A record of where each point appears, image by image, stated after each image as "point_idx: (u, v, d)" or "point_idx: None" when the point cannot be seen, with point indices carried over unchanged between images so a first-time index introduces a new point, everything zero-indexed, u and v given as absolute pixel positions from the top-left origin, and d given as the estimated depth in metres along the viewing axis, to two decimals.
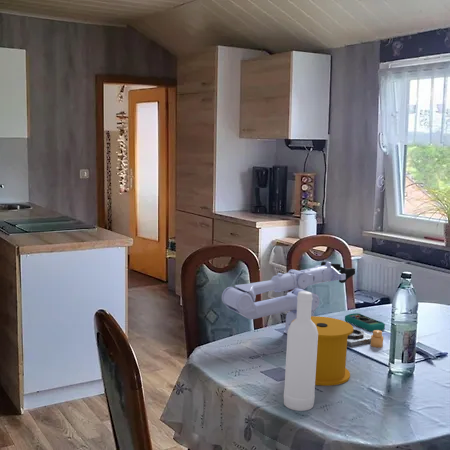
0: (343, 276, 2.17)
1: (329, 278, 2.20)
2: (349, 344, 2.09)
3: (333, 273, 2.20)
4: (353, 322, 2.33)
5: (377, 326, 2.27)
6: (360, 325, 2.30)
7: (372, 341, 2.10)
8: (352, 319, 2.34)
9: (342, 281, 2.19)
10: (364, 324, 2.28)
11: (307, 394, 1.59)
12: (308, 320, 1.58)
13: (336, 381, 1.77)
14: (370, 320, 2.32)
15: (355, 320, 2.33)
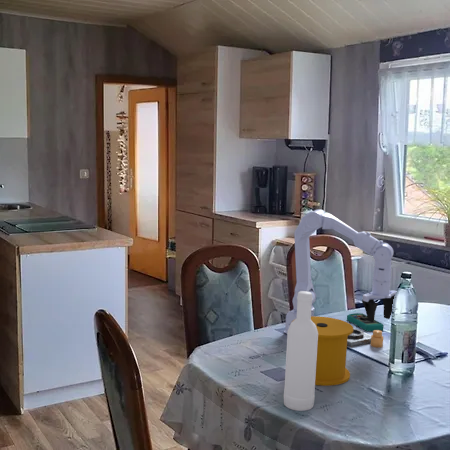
0: (365, 298, 2.04)
1: (372, 289, 2.07)
2: (349, 344, 2.09)
3: (375, 294, 2.06)
4: (353, 321, 2.34)
5: (374, 326, 2.26)
6: (359, 325, 2.31)
7: (372, 341, 2.10)
8: (352, 318, 2.35)
9: None
10: (362, 324, 2.29)
11: (307, 394, 1.59)
12: (308, 320, 1.58)
13: (336, 381, 1.77)
14: None
15: (355, 320, 2.33)
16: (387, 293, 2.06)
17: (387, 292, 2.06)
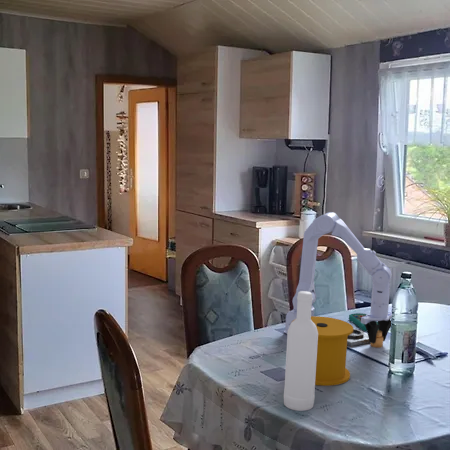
0: (363, 320, 2.05)
1: (371, 311, 2.09)
2: (349, 344, 2.09)
3: (373, 316, 2.07)
4: (353, 321, 2.35)
5: None
6: (357, 324, 2.31)
7: None
8: (353, 318, 2.35)
9: None
10: (360, 323, 2.29)
11: (307, 394, 1.59)
12: (308, 320, 1.58)
13: (336, 381, 1.77)
14: None
15: (355, 319, 2.34)
16: (385, 315, 2.07)
17: (385, 314, 2.07)
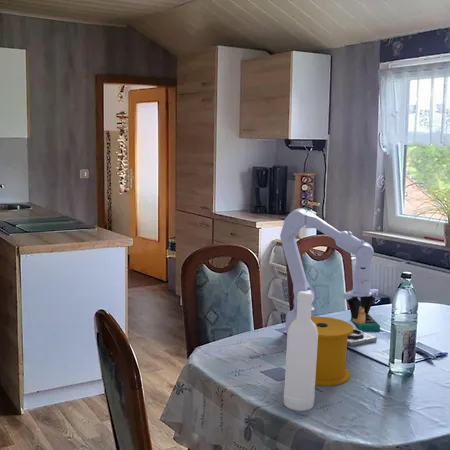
0: (345, 296, 2.09)
1: (353, 287, 2.12)
2: (349, 344, 2.09)
3: (355, 292, 2.11)
4: None
5: (369, 326, 2.26)
6: (357, 324, 2.32)
7: None
8: None
9: None
10: (358, 323, 2.29)
11: (307, 394, 1.59)
12: (308, 320, 1.58)
13: (336, 381, 1.77)
14: (369, 321, 2.31)
15: None
16: (367, 291, 2.10)
17: (367, 290, 2.10)
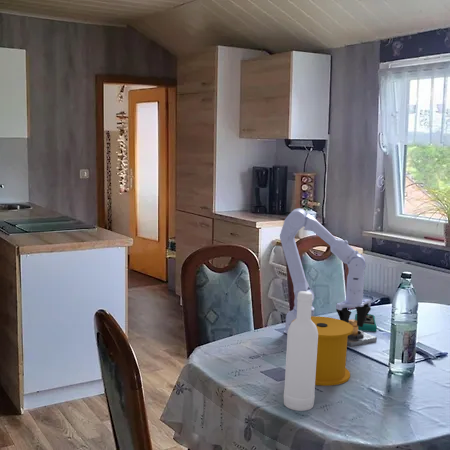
0: (338, 306, 2.11)
1: (346, 297, 2.14)
2: (349, 344, 2.09)
3: (348, 303, 2.13)
4: None
5: (365, 326, 2.26)
6: None
7: None
8: (356, 317, 2.36)
9: None
10: None
11: (307, 394, 1.59)
12: (308, 320, 1.58)
13: (336, 381, 1.77)
14: (369, 321, 2.31)
15: (356, 318, 2.35)
16: (360, 302, 2.12)
17: (360, 301, 2.12)
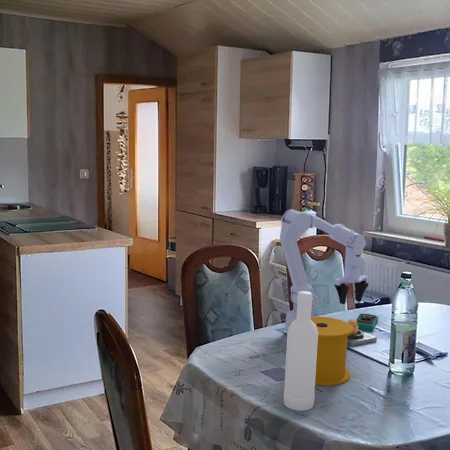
0: (337, 282, 2.21)
1: (344, 273, 2.24)
2: (349, 344, 2.09)
3: (346, 279, 2.23)
4: None
5: (361, 326, 2.27)
6: None
7: None
8: None
9: None
10: None
11: (307, 394, 1.59)
12: (308, 320, 1.58)
13: (336, 381, 1.77)
14: (368, 321, 2.31)
15: (357, 318, 2.35)
16: (357, 277, 2.23)
17: (357, 277, 2.22)
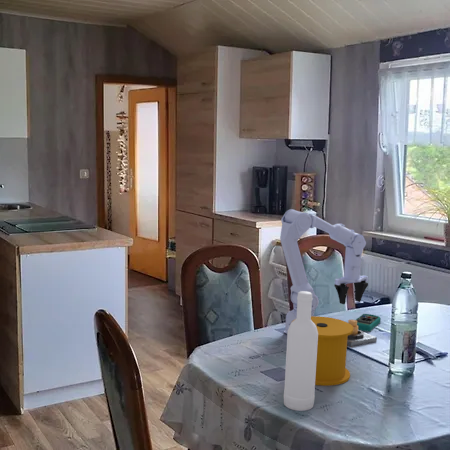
0: (337, 282, 2.21)
1: (344, 273, 2.24)
2: (349, 344, 2.09)
3: (346, 279, 2.23)
4: None
5: (358, 325, 2.27)
6: None
7: None
8: (359, 317, 2.37)
9: None
10: None
11: (307, 394, 1.59)
12: (308, 320, 1.58)
13: (336, 381, 1.77)
14: (367, 321, 2.31)
15: (358, 318, 2.36)
16: (357, 277, 2.23)
17: (357, 276, 2.23)
